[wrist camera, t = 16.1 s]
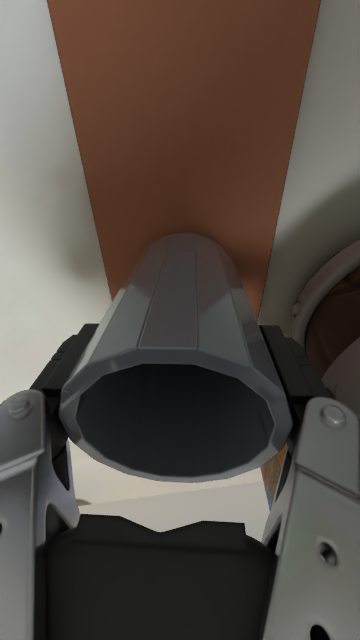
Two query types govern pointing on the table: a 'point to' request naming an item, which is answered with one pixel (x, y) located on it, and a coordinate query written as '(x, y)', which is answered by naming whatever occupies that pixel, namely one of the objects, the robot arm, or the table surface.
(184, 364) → the cylinder
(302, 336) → the flowerpot
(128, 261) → the mat
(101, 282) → the table surface
